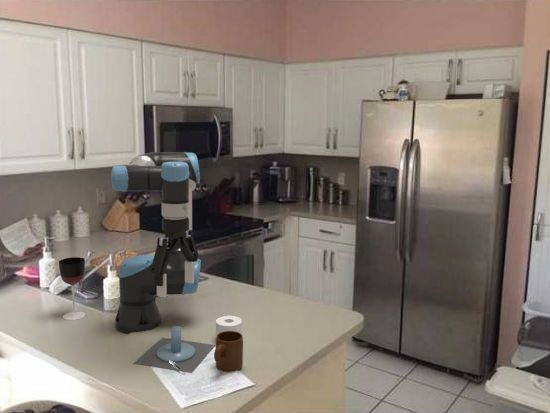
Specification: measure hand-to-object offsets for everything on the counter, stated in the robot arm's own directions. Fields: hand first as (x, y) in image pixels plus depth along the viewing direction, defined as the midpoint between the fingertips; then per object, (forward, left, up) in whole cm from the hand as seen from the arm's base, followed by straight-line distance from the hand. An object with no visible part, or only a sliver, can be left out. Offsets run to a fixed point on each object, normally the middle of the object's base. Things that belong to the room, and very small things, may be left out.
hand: (176, 289), depth 144 cm
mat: (0, 0, -21) cm, 21 cm away
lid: (0, 0, -20) cm, 20 cm away
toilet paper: (+11, +16, -21) cm, 28 cm away
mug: (+17, -4, -21) cm, 27 cm away
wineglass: (-47, +17, -21) cm, 54 cm away
